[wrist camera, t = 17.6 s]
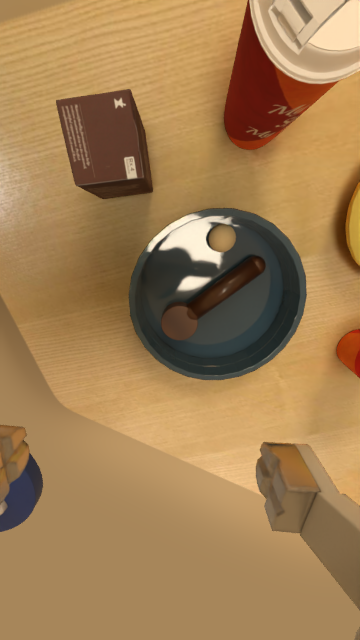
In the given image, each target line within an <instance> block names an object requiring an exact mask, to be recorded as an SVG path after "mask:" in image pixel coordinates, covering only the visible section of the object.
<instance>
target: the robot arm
mask: <svg viewBox="0 0 360 640" xmlns="http://www.w3.org/2000/svg"><path fill="white" fill-rule="evenodd" d="M25 437H26V430H25V428H24V427H18V426H7V425H0V515H1V514H3V513H4V511H5V510H6V509H7V507H8V506H7V504H6V502H5V501H4V499H5V497H6V496H7V494H8V493H9V484H10V483H11V482H13V481H14V480H16V479H17V478H19V477H20V475H21V474H22V472H23V470H24V469H25V467H26V464H27V462H28V459H29V452H30V451H29V446H28V444H27V443H26V442H25V441H24V438H25ZM260 452H261V454H262V456H261V457H260V458H259V459H258V460H257V464H256V479H257V484H258V487H259V490H260V492H261V493H262V494H263V495H264V497H265V498H266V499H267V500H266V503H265V510H266V513H267V516H268V519H269V522H270V525H271V528H272V531H281V532H291V533H301V534H300V536H301V537H302V538H303V539H304V541H305V542H306V543H307V544H308V546H309V547H310V548H311V550H312V551H313V552H314V553H315V554H316V556H317V557H318V558H319V560H320V561H321V562H322V563H323V565H324V566H325V567H326V568H327V570H328V571H329V572H330V573H331V575H332V576H333V577H334V578H335V580H336V581H337V582H338V583H339V585H340V586H341V587H342V588H343V590H344V591H345V592H346V594H347V595H348V596H349V597H350V599H351V600H352V601H353V602H354V603H355V605H356V606H357V607H358V609H359V610H360V506H359V505H358V504H357V503H355V502H354V501H353V500H352V499H351V498H349V497H348V496H347V495H346V494H340V493H339V491H338V489H337V488H336V486H335V485H334V483H333V481H332V480H331V478H330V477H329V475H328V474H327V472H326V470H325V469H324V467H323V466H322V464H321V462H320V461H319V459H318V458H317V456H316V455H315V453H314V451H313V450H312V448H311V447H310V446H309V445H307V444H291V443H273V442H263V444H262V445H261V448H260ZM355 640H360V627H359V629H358V630H357V632H356V635H355Z"/></svg>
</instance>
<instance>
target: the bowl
mask: <svg viewBox="0 0 360 640" xmlns="http://www.w3.org/2000/svg"><path fill="white" fill-rule="evenodd" d="M219 224H227V225H229V226H231V227H232V228H233V229H234V231H235V234H236V241H235V243H234V245H233V247H232V248H231V249H230V250H228V251H226V252H217V251H215V250H213V249H212V247H211V246H210V244H209V234H210V232H211V230H212V229H213V228H214V227H215V226H217V225H219ZM251 256H260V257H262V258H263V259H264V260H265V263H266V267H265V270H264V272H263V273H262V274H261V275H259V276H258V277H257V278H255V279H254V280H252V281H251V282H250V283H248V284H247V285H245V286H244V287H243V288H241V289H240V290H238V291H237V292H236V293H234V294H233V295H232V296H230V297H229V298H227V299H226V300H225V301H223V302H222V303H220V304H219V305H218V306H216V307H215V308H213V309H212V310H211V311H209V312H208V313H206V314H205V315H204V316H202V317H201V318H200V319H198V326H197V329H196V331H195V333H194V334H193V335H192V336H191V337H189V338H187V339H185V340H174V339H171V338H170V337H168V336H167V335H166V334H165V333H164V332H163V330H162V327H161V319H162V315H163V312H164V310H165V308H166V307H167V306H168V305H170V304H172V303H174V302H184V303H187V304H188V303H189V302H191V301H192V300H193V299H195V298H196V297H197V296H199V295H200V294H201V293H203V292H204V291H205V290H207V289H208V288H209V287H211V286H212V285H213V284H215V283H216V282H217V281H219V280H220V279H221V278H223V277H224V276H225V275H227V274H228V273H229V272H231V271H232V270H233V269H235V268H236V267H237V266H239V265H240V264H241V263H243V262H244V261H245V260H247V259H248V258H250V257H251ZM306 296H307V294H306V276H305V272H304V269H303V265H302V262H301V259H300V256H299V254H298V253H297V251H296V249H295V248H294V246H293V245H292V243H291V241H290V240H289V239H288V237H287V236H286V235H285V234H283V233H282V232H281V231H280V230H279V229H278V228H277V227H276V226H275V225H274V224H273V223H271V222H269V221H267V220H265V219H264V218H262V217H260V216H258V215H256V214H254V213H250V212H246V211H242V210H238V209H234V208H233V209H232V208H211V209H206V210H202V211H198V212H194V213H190V214H187V215H185V216H184V217H182V218H180V219H178V220H176V221H174V222H172V223H170V224H169V225H167V226H166V227H165V228H164V229H163V230H162V231H161V232H159V233H158V234H157V235H156V236H155V237H154V238H153V239H152V240H151V241H150V242H149V244H148V245H147V247H146V248H145V249H144V251H143V252H142V254H141V255H140V257H139V259H138V261H137V264H136V266H135V269H134V271H133V274H132V277H131V283H130V289H129V307H130V316H131V319H132V322H133V325H134V328H135V331H136V334H137V335H138V337H139V339H140V340H141V342H142V344H143V345H144V347H145V348H146V349H147V350H148V351H149V352H150V353H151V354H152V355H153V356H154V358H155V359H156V360H158V361H159V362H160V363H162V364H163V365H165V366H166V367H168V368H169V369H171V370H173V371H175V372H177V373H180V374H182V375H185V376H187V377H191V378H197V379H202V380H224V379H230V378H235V377H239V376H242V375H245V374H247V373H250V372H252V371H255V370H257V369H258V368H260V367H261V366H263V365H264V364H266V363H268V362H269V361H271V360H272V359H273V358H274V357H275V356H276V355H277V354H278V353H279V352H280V351H281V350H282V349H283V348H284V347H285V346H286V345H287V343H288V342H289V341H290V339H291V338H292V336H293V335H294V333H295V332H296V330H297V327H298V325H299V323H300V320H301V318H302V316H303V312H304V307H305V301H306Z"/></svg>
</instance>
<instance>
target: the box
mask: <svg viewBox="0 0 360 640" xmlns="http://www.w3.org/2000/svg"><path fill="white" fill-rule="evenodd" d="M56 104H57V109H58V113H59V118H60V122H61V127H62V131H63V135H64V139H65V143H66V148H67V152H68V156H69V160H70V164H71V169H72V173H73V177H74V181H75V185H76V186H79V187H81V188H82V189H84V190H86V191H88V192H90V193H92V194H94V195H96V196H98V197H100V198H102V199H106V198H113V197H120V196H127V195H135V194H142V193H150V192H153V188H152V180H151V172H150V164H149V157H148V150H147V143H146V135H145V130H144V127H143V124H142V121H141V118H140V115H139V112H138V110H137V107H136V104H135V101H134V98H133V96H132V92H131V90H130V89H127V90H120V91H114V92H108V93H102V94H95V95H88V96H81V97H74V98H67V99H61V100H56Z"/></svg>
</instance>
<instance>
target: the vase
mask: <svg viewBox="0 0 360 640" xmlns="http://www.w3.org/2000/svg"><path fill="white" fill-rule="evenodd" d="M345 227H346V240H347V245H348V248H349V250H350V253H351V255H352V258H353V259H354V260H355V262H356V263H357V264H358V265H359V266H360V182H359V183H358V185H357V187H356V189H355V192H354V194H353V197H352V199H351V202H350V204H349V207H348V213H347V219H346V224H345Z"/></svg>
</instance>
